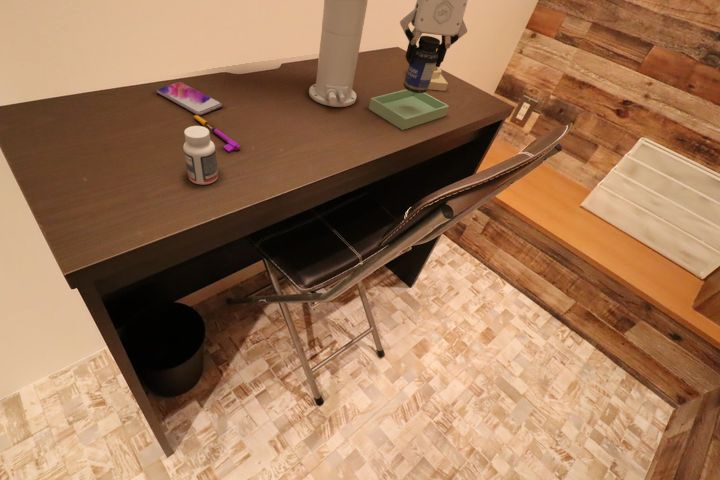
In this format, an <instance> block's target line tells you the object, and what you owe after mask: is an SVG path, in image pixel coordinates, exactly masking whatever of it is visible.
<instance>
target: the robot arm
mask: <svg viewBox="0 0 720 480" xmlns="http://www.w3.org/2000/svg"><path fill="white" fill-rule="evenodd" d="M368 2H369V1H368V0H323V10H322V11H323V12H322V20H321V21H322V22H321V33H320V42H319V53H318V61H317V70H316V80H315V83H313V84H311V86H310V87H309V88H308V95H309V97H310V99H312V100H313V101H314V102H316V103H319V104H321V105H323V106H328V107H331V108H332V107H333V108H344V107H349V106H352V105H354V104H355V103H356V101H357V98H358V97H357V93H356V92H355V90H353V86H354V82H355V75H356V74H355V73H356V69H357V64H358V59H359V53H360V49H361V48H360V47H361V42H362V38H363V37H362V36H363V30H364V25H365V19H366V13H367V8H368ZM467 4H468V0H416V3H415V5H414V8H413V10H411V11H410V12H409V13H408V14H406V15H405V16H404V17H403V18H402V19H401V20H400V21H399V25H400V27H401V29H402V31H403V33H404V35H405V36H406V38H407V41H408V44H407V48H406V51H405V59H406V62H407V64H408V65H409V64H412V63H413V60H414V56H415V53H416V49H417V47H418V45H417V43H418V42H419V39H420V37H421V36H423V34H427V35H435V36H441V41H440V44H439V47H438V48H437V50H436V52H437V53H438V60H437V63H436V66H437V67H440V68H441V64H442V63H443V62H444V59H445V57H446V53H447V51H448V49H450V48H451V47H452V45H454V44H455V43H456V42H457V41H458V40H459V39H461V38H462V37H463V36H465V35H466V34H467V33H468V29H467V26H466V23H465V20H464V17H465V14H466V13H465V12H466V8H467ZM410 23H411V25H412V26H413V27H414V28H413V29H412V30H411V29H410V26H409V25H410Z"/></svg>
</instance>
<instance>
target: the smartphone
mask: <svg viewBox="0 0 720 480" xmlns="http://www.w3.org/2000/svg"><path fill="white" fill-rule="evenodd" d="M156 93H157V94H158V95H160V96H161V97H164V98H166V99H167V100H170V101H172V102H173V103H175V104H177V105H178V106H180V107H182V108H184V109H186V110H187V111H189V112H191V113H193V114H195V115H197V116H202V115H205V114H208V113H210V112H213V111H215V110H217V109H220V108H222V106H223V103H222V102H220V101H218V100H217V99H215V98H213V97H211V96H210V95H207V94H205V93H203V92H202V91H200V90H197V89H195V88H194V87H191V86H189V85H188V84H186V83H184V82H182V81H177V82H174V83H172V84H168V85H165V86H162V87H159V88H157V89H156Z"/></svg>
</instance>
